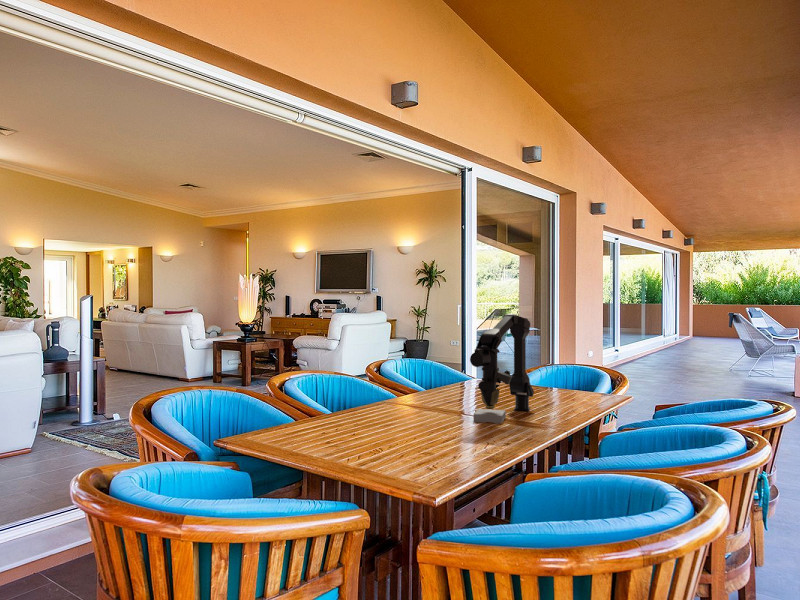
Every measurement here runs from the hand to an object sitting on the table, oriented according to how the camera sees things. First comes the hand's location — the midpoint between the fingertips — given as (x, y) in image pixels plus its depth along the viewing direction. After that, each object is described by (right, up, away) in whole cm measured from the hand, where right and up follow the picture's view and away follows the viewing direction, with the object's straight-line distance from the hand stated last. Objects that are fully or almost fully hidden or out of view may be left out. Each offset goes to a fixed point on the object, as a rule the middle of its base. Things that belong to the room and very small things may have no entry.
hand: (490, 404), depth 227 cm
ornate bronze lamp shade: (0, -2, 0) cm, 2 cm away
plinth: (0, -6, 0) cm, 6 cm away
